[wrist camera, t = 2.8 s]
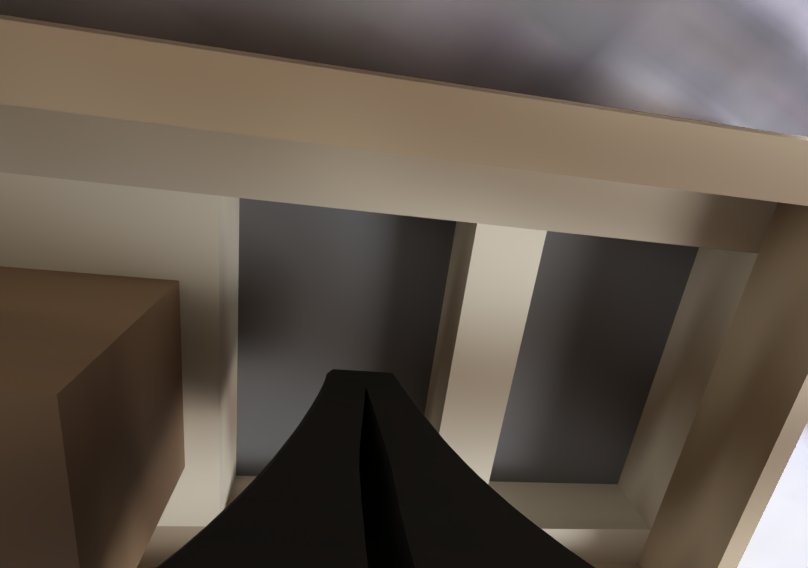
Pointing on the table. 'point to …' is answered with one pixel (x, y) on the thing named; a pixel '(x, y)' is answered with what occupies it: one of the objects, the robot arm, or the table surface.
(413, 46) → the table surface
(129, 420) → the walnut block
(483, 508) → the robot arm
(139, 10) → the table surface
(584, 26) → the table surface
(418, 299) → the box
